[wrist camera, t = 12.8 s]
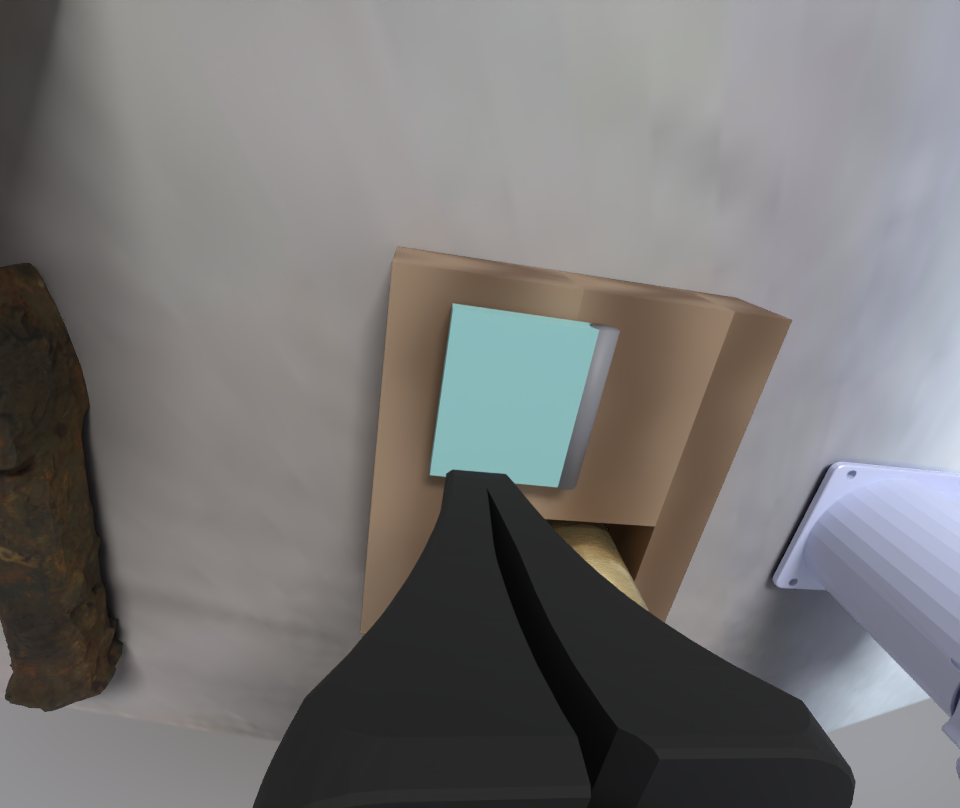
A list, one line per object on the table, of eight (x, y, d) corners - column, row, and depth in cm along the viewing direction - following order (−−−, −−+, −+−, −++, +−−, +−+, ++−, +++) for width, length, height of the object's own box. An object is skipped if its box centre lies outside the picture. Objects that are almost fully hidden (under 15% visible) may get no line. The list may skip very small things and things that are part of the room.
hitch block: (736, 297, 21) (792, 320, 18) (629, 587, 27) (656, 642, 24) (397, 246, 19) (392, 261, 15) (368, 575, 25) (359, 633, 22)
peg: (606, 492, 24) (670, 603, 18) (585, 556, 26) (638, 679, 20) (527, 485, 24) (565, 598, 17) (510, 551, 25) (540, 677, 19)
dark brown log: (137, 642, 26) (82, 734, 21) (49, 636, 25) (-27, 730, 21) (125, 278, 18) (37, 309, 14) (0, 252, 18) (-133, 277, 13)
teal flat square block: (614, 325, 17) (624, 334, 16) (572, 476, 19) (579, 491, 18) (452, 302, 16) (453, 309, 15) (430, 461, 18) (429, 476, 18)
